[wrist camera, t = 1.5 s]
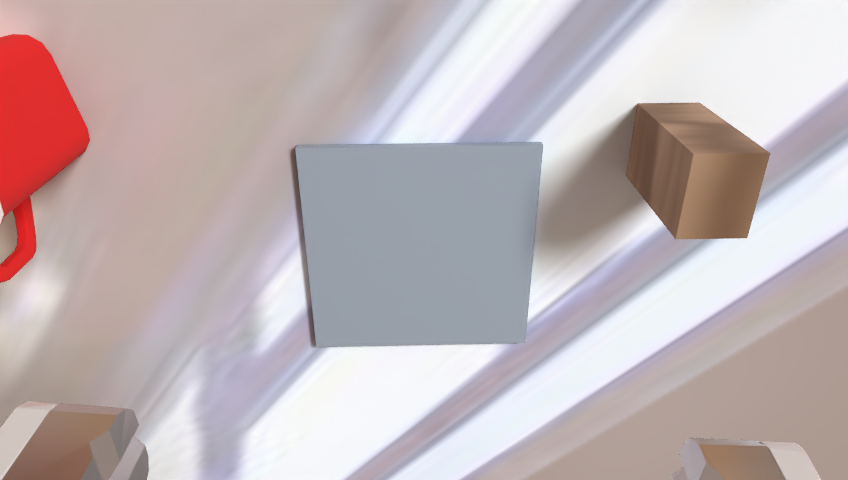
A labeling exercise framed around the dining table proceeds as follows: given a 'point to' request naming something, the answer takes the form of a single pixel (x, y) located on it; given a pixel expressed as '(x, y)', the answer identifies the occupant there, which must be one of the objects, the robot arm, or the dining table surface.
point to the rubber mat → (419, 241)
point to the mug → (32, 135)
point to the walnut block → (695, 170)
